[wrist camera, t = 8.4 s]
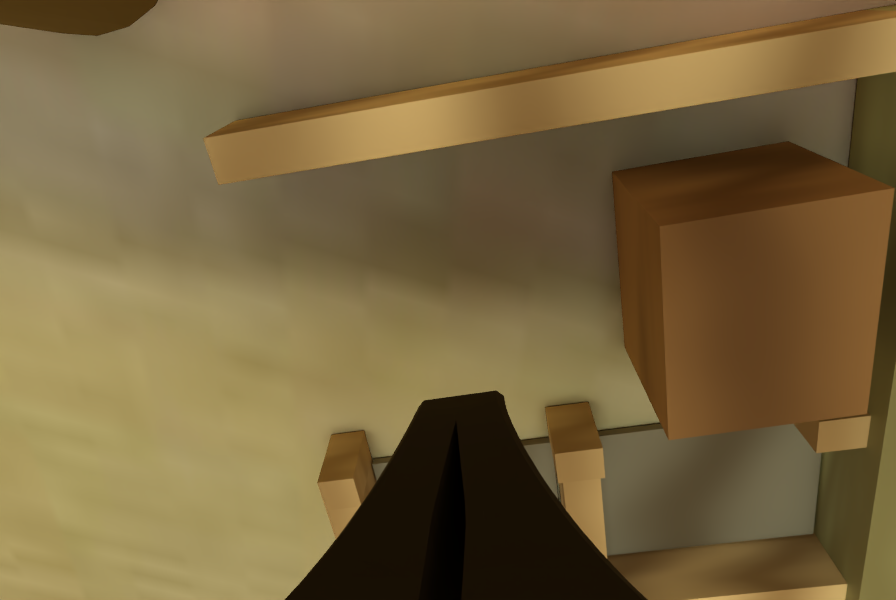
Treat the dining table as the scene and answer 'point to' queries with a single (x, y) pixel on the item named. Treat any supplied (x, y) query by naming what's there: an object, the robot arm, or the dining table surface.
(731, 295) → the walnut block
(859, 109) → the trap lane
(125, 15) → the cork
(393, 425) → the dining table surface
